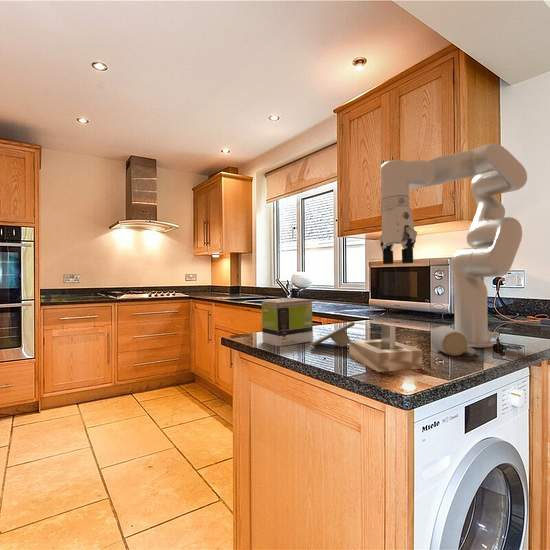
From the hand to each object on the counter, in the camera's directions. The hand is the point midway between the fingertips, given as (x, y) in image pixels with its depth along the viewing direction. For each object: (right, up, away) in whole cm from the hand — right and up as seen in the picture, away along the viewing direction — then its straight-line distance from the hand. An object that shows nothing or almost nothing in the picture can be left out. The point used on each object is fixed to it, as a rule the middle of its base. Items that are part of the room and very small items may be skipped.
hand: (397, 263), depth 105 cm
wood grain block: (-7, -27, -9) cm, 29 cm away
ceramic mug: (+17, -27, 0) cm, 31 cm away
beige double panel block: (-17, -27, +11) cm, 34 cm away
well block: (-7, -27, -9) cm, 29 cm away
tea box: (-31, -27, +20) cm, 46 cm away
